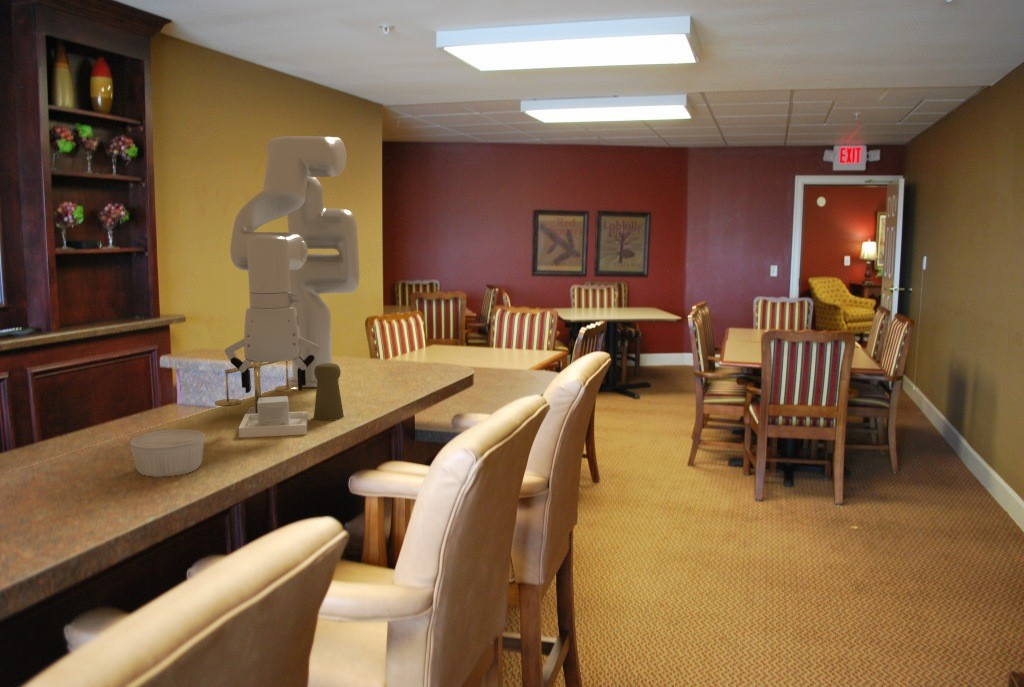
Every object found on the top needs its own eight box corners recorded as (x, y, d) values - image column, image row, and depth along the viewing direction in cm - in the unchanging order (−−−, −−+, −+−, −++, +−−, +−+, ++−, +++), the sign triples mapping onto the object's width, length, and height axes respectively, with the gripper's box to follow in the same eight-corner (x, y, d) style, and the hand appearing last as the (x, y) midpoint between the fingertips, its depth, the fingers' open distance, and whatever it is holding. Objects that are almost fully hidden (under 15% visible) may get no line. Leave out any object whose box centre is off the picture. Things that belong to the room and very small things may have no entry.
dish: (245, 422, 167) (245, 413, 167) (308, 420, 169) (307, 411, 169) (239, 437, 155) (238, 428, 155) (306, 434, 158) (306, 425, 157)
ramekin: (140, 484, 128) (138, 450, 127) (124, 467, 137) (122, 435, 136) (215, 471, 134) (214, 439, 133) (195, 456, 143) (193, 425, 142)
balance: (217, 414, 174) (214, 355, 172) (301, 410, 178) (299, 353, 176) (213, 420, 168) (210, 360, 167) (300, 417, 172) (298, 357, 170)
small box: (259, 421, 164) (258, 396, 164) (289, 420, 166) (288, 395, 165) (257, 428, 159) (256, 402, 158) (289, 426, 160) (288, 401, 159)
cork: (336, 421, 168) (335, 366, 167) (308, 419, 170) (306, 365, 168) (348, 414, 174) (347, 361, 173) (321, 413, 176) (319, 360, 174)
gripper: (318, 298, 164) (321, 384, 167) (224, 299, 161) (229, 388, 164) (317, 302, 157) (320, 392, 160) (219, 304, 154) (224, 396, 157)
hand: (274, 390), depth 162 cm, fingers open, 9 cm apart
